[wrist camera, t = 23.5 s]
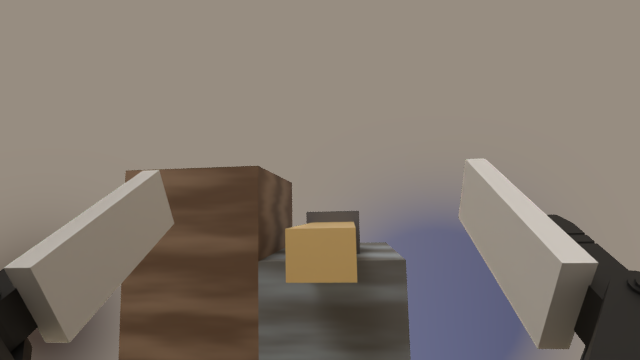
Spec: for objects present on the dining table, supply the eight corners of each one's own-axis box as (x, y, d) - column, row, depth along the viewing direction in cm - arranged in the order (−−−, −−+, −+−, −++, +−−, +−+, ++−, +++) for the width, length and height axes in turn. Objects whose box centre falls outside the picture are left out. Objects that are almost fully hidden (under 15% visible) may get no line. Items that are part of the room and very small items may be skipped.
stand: (422, 614, 24) (401, 160, 27) (110, 586, 26) (125, 170, 29) (394, 454, 40) (382, 180, 43) (201, 445, 42) (204, 185, 45)
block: (366, 282, 18) (364, 209, 19) (277, 282, 19) (276, 211, 19) (358, 248, 36) (357, 211, 36) (313, 248, 37) (312, 212, 37)
